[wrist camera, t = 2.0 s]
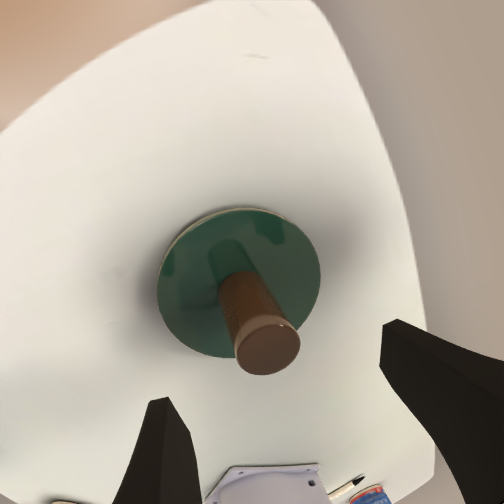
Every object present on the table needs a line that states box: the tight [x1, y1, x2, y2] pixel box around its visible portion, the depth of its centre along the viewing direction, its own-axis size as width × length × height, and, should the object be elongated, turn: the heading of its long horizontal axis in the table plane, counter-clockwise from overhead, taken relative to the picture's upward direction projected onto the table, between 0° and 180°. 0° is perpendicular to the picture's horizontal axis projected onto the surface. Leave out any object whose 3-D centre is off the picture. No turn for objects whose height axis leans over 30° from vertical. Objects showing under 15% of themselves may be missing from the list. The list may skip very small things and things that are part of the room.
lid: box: [157, 208, 321, 375], centre depth 14 cm, size 8×8×6 cm
